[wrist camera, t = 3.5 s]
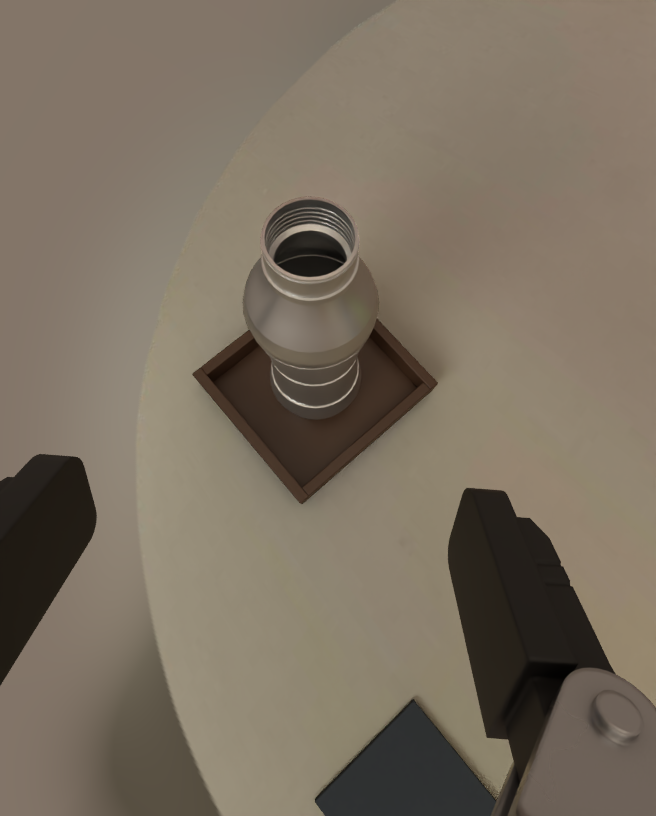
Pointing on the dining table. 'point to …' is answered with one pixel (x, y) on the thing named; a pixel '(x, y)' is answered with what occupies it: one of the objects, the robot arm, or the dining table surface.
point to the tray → (308, 438)
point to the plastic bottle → (311, 305)
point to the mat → (407, 776)
